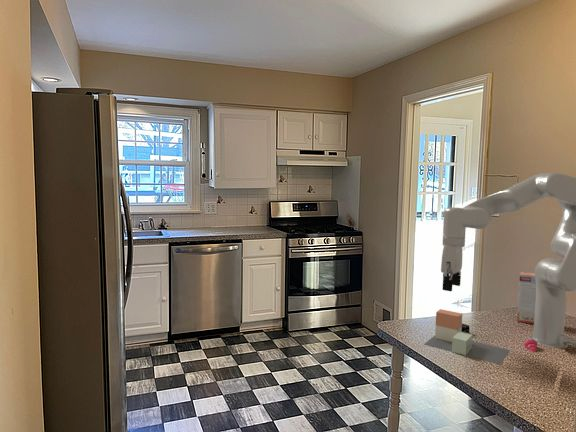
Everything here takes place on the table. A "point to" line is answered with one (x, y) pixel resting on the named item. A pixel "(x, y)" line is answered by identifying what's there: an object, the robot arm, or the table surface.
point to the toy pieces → (531, 345)
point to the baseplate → (474, 350)
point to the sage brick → (462, 343)
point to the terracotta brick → (449, 319)
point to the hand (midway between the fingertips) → (451, 287)
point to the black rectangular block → (465, 328)
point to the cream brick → (445, 333)
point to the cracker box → (526, 298)
